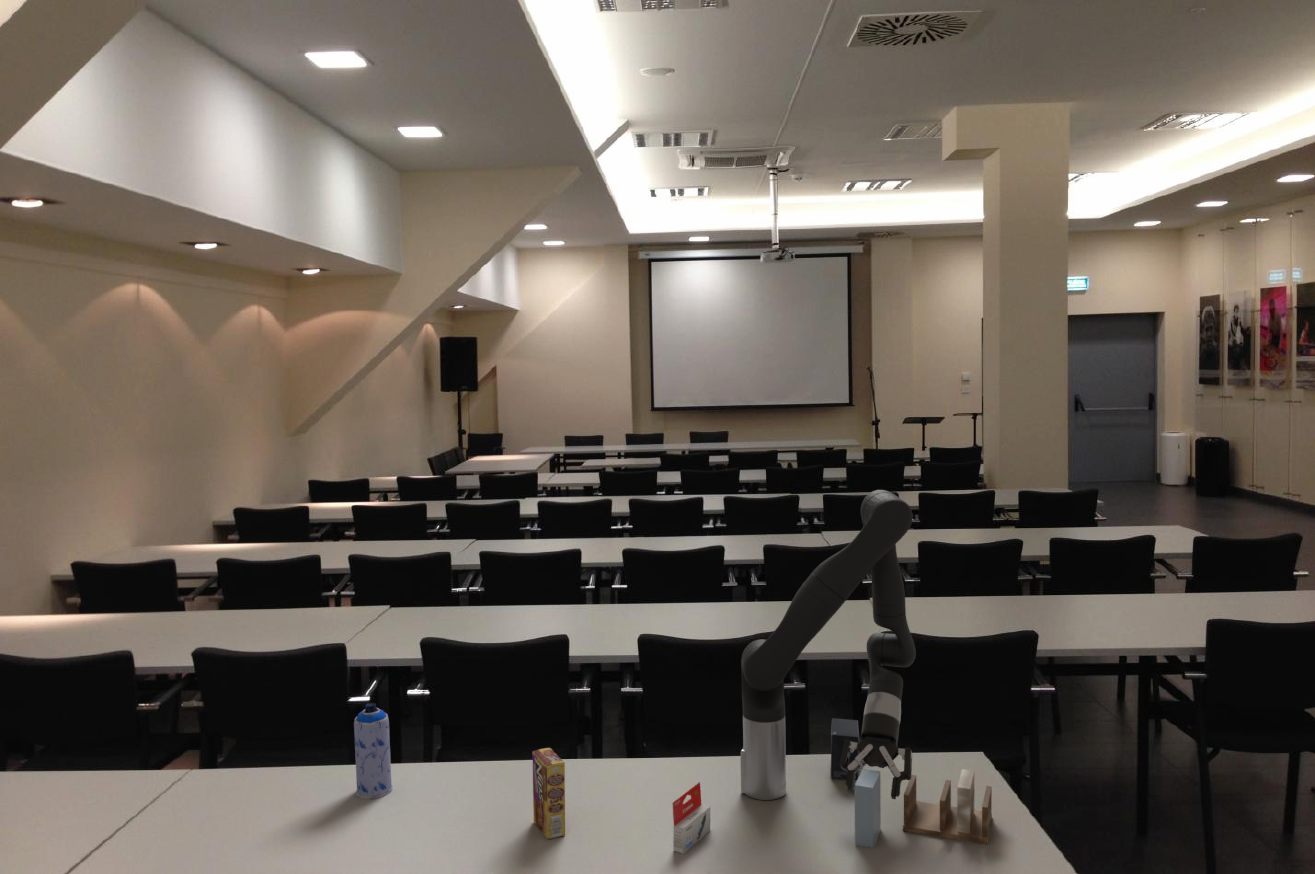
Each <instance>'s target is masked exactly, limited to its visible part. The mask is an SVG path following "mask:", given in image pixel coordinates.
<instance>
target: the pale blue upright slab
mask: <svg viewBox="0 0 1315 874" xmlns="http://www.w3.org/2000/svg"><path fill="white" fill-rule="evenodd" d="M881 789H882V787H881V770H874V769H873V770H872V769H867V768H862V769H861V772H860V774H859V775H858V779H857V780H855V784H854V845H856V846H859V847H860V846H861V847H867V848H874V847H875V844H876V842H877V839H878V836H879V834H880V832H881V829H882V827H881V825H882V824H881V823H882V822H881V816H882V815H881V813H882V812H881V810H882V809H881V797H882V796H881V793H882V792H881Z"/></svg>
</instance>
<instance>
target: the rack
mask: <svg viewBox="0 0 1315 874" xmlns="http://www.w3.org/2000/svg"><path fill="white" fill-rule="evenodd" d="M992 787H993V786H991V785H990V786H989V785H986V787H985V791H984V795H983V801H982V805H981V806H982V807H981V810H976V809H975V770H971V769H965V768H962V769H961V772H960V777H959V781H958V783H957V786H956V788H957V789H956V794H957V796H956V798H957V799H956V801H957V802H956V804H957V806H952V780H950V779H945V781H944V785H943V788H942V791H941V795H940V798H939V804H938V803H933V802H932V803H931V802H926V801H920V800H917V775H916V774H911V779H910V780H908V783H907V785H906V788H905V791H904V793H903V824H902V830H903V831H905V832H910V833H915V834H916V833H917V834H922V835H927V836H935V837H939V838H945V839H951V840H957V841H963V842H969V843H974V844H980V845H985V846H986V845H988V841H989V835H990V832H991V831H990V829H991V825H990V824H991V823H992V820H991V819H992V818H993V813H992V809H993V808H992V806H993V805H992V804H993V803H992V799H993V798H992V797H993V796H992V793H993V792H992V791H993V790H992Z"/></svg>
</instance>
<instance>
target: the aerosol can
mask: <svg viewBox="0 0 1315 874" xmlns="http://www.w3.org/2000/svg"><path fill="white" fill-rule="evenodd" d="M353 728H354V729H353V732H354V751H355V752H354V753H355V755H354V756H355V757H354V758H355V774H356V776H355V777H356V792H355V793H356V794H355V795H356V796H357V797H359V798H360V799H365V800H371V799H377V798H383V797H385V796H387V795H389V794H390V793H391V792H392V791H393V785H392V765H391V763H392V762H391V761H392V760H391V746H390V744H391V743H390V740H391V739H390V738H391V737H390V721H389V715H388V713H386V712H385V711H384V710H383V709H380V708H378V707H377V703H375V702H368V703H366V704H365V709H363V710H362V711H360V712H359V713H358V714H357V716H356V717H355V718H354V722H353Z"/></svg>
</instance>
